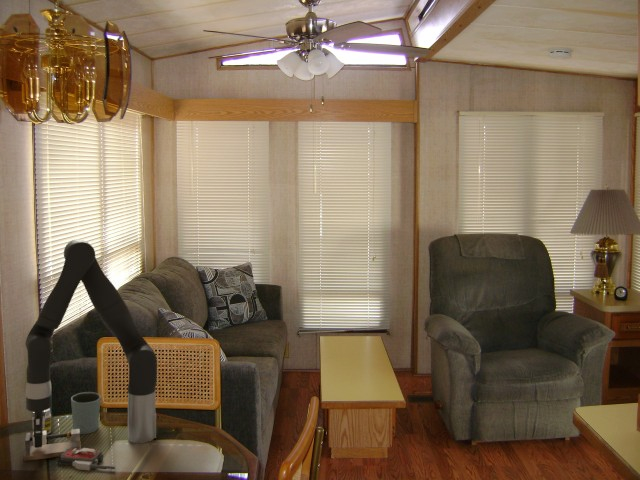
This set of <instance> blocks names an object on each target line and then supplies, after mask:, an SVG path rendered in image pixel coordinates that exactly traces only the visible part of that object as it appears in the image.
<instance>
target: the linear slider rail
mask: <svg viewBox="0 0 640 480" xmlns="http://www.w3.org/2000/svg"><path fill="white" fill-rule="evenodd" d="M66 432H67V433H66ZM66 432H65V433H59V434H58V433H57V434H50V435H49V434H47V436H46V439H47V440H52V439H61V438H62V439H63V438H66V439H67V440H68V439H70V441H65V442H55V443H48V444H47V443H46V445H42V447H39V448H35V446H33V445H32V444H31V443H32V442H33V436H31V432H26V435H25V439H24V447H25V449H24V455H23V461H24V462H27V461H35V460H41V459H51V458H59V457H60V456H61V454H63V453H64V452H65V451H66V450H67V449H75V448H76V449H80V450H81V449H82V447H81V446H82V443H81V441H82V440H81V434H80V429H73V428H72V429H71V431H66Z"/></svg>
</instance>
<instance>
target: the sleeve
mask: <svg viewBox="0 0 640 480" xmlns="http://www.w3.org/2000/svg"><path fill="white" fill-rule="evenodd" d="M36 433H40V431H37V432H36ZM33 435H34V431H33V432H32V437H33V441H32V446H35V437H34V436H33ZM47 435H48V434H47V430H46V431H43V435H42V445H46V444H47V440H48V439H46V436H47Z"/></svg>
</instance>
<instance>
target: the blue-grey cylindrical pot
mask: <svg viewBox="0 0 640 480" xmlns="http://www.w3.org/2000/svg"><path fill="white" fill-rule="evenodd" d="M101 396H102V395H101V394H100V393H97V392H93V391H85V392H79V393H76V394H74V395H72V396H71V398H70V402H71V403H70V404H71V417H72V429H80V435H86V434H87V435H88V434H92V433H94V432H96V431H98V429H99V424H100V423H99V422H100V421H99V417H100V409H101V408H100V407H101V400H102V398H101Z"/></svg>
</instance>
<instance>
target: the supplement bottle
mask: <svg viewBox="0 0 640 480" xmlns="http://www.w3.org/2000/svg"><path fill="white" fill-rule="evenodd" d="M44 411H46V416H45V421H44V429H43V431H46V430H47V435H49V434H51V432H52V415H51V409H50V408H49V409H47V410H44ZM42 425H43V424H42Z"/></svg>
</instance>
